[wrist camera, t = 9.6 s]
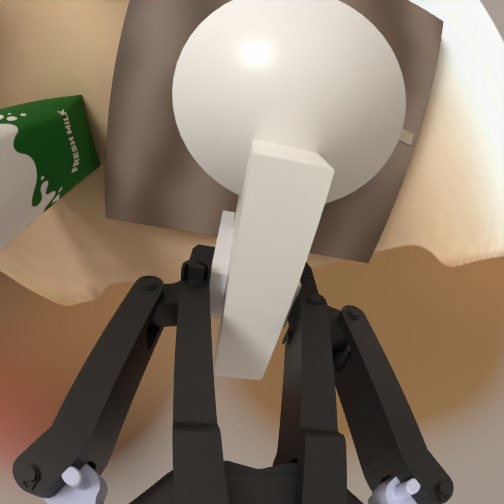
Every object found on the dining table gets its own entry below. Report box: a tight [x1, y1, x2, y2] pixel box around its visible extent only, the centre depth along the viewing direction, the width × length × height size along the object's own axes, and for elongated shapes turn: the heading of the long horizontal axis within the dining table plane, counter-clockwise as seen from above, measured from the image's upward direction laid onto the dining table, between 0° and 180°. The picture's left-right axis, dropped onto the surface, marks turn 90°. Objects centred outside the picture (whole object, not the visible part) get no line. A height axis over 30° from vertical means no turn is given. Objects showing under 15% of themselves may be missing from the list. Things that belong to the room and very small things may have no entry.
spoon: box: [172, 0, 406, 380], centre depth 12 cm, size 18×9×6 cm, turn 170°
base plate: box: [105, 0, 443, 263], centre depth 18 cm, size 24×24×2 cm
